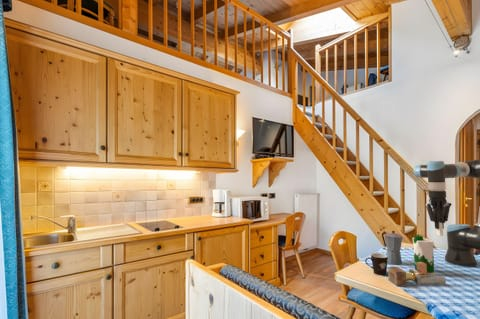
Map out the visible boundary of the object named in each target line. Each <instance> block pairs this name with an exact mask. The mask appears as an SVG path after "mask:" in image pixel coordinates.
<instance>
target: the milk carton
mask: <svg viewBox="0 0 480 319" xmlns="http://www.w3.org/2000/svg"><path fill="white" fill-rule="evenodd" d="M434 244H435V243H434V241H433V240H431V239H429V238H424V237H423V235H418V234H415V235H414V237H412V245H413V259H414V260H413V262H414V270H416V271H417V262H424V263H425V264H426V265H427V273H435V258H434Z"/></svg>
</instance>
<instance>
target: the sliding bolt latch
mask: <svg viewBox="0 0 480 319" xmlns="http://www.w3.org/2000/svg"><path fill="white" fill-rule="evenodd" d="M408 271H409V272H408V273H415V274H416V279H417V280H411V281H410V282H412V283H414V284H415V283H416V285H417V286H437V285H439V286H441V285H445V286H446V284H447V283H446V280H447V279H446V277H445V276H438V273H437V272H434V273H427V277H421V275H420V273H419V272H417V270H415V268H409V270H408Z"/></svg>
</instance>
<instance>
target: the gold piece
mask: <svg viewBox="0 0 480 319" xmlns="http://www.w3.org/2000/svg"><path fill="white" fill-rule="evenodd" d="M416 271H417V272H419V273H420V275H421V277H427V265H426V264H425V263H424V262H417V270H416ZM411 280H417V279H416V274H415V273H410V272H406V282H407V281H410V282H412V281H411Z"/></svg>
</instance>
